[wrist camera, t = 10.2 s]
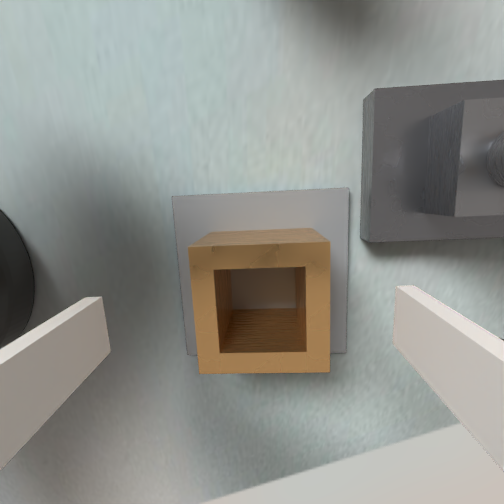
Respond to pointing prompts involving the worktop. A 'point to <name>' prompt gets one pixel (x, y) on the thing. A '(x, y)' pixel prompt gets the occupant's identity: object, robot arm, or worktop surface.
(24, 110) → the worktop surface
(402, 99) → the stand
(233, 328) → the collar
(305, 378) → the worktop surface
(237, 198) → the mat
